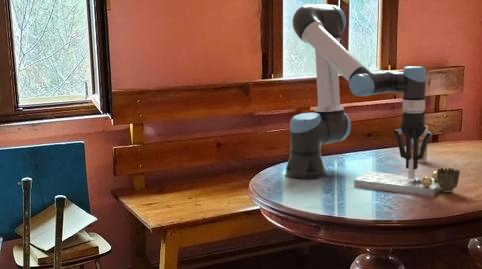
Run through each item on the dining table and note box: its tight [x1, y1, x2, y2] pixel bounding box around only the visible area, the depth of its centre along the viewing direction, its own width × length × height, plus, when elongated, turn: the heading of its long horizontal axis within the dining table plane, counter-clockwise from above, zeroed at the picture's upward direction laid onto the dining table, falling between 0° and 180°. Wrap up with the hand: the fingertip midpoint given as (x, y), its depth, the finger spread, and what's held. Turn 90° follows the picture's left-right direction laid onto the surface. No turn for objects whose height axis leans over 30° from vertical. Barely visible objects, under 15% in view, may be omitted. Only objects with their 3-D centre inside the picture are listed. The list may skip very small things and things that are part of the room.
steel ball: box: [413, 179, 422, 184], centre depth 219 cm, size 3×3×3 cm
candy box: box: [411, 125, 429, 164], centre depth 260 cm, size 9×4×15 cm, turn 13°
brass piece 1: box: [422, 176, 432, 187], centre depth 212 cm, size 3×3×3 cm
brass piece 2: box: [430, 170, 438, 181], centre depth 220 cm, size 3×3×3 cm
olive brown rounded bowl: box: [436, 167, 461, 195], centre depth 213 cm, size 8×7×8 cm
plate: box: [353, 171, 443, 198], centre depth 222 cm, size 28×14×2 cm, turn 59°
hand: (411, 177), depth 220 cm, fingers closed
